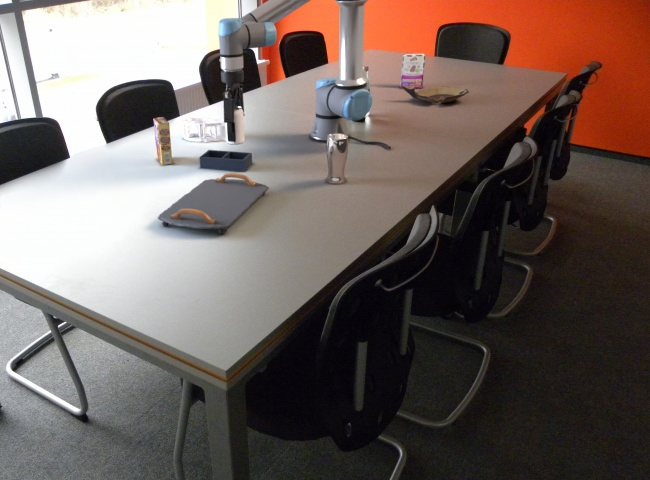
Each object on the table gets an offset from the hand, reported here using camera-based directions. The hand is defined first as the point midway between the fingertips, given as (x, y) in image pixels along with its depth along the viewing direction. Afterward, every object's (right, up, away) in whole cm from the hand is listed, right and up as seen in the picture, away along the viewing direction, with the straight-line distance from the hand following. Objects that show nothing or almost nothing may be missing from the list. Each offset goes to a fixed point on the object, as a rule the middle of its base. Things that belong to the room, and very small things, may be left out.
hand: (235, 138), depth 214 cm
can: (0, -1, +1) cm, 2 cm away
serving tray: (-5, -29, -28) cm, 41 cm away
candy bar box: (+89, +54, +105) cm, 148 cm away
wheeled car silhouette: (-12, +9, +37) cm, 40 cm away
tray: (-3, -8, +7) cm, 11 cm away
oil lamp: (+93, +38, +78) cm, 128 cm away
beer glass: (+34, -17, -10) cm, 39 cm away
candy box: (-27, -5, +14) cm, 30 cm away
